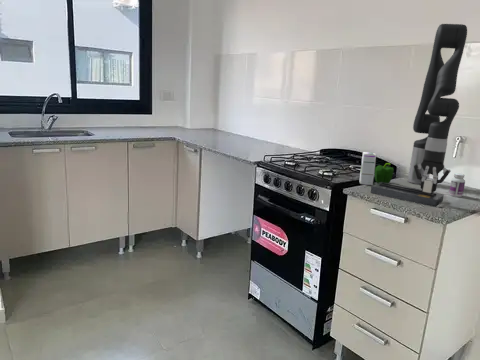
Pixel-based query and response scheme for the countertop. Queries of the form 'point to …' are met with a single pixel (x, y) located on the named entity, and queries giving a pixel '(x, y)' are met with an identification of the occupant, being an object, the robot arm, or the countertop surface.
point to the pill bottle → (457, 185)
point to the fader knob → (428, 186)
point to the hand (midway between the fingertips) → (427, 191)
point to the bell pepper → (383, 173)
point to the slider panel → (407, 194)
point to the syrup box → (367, 168)
